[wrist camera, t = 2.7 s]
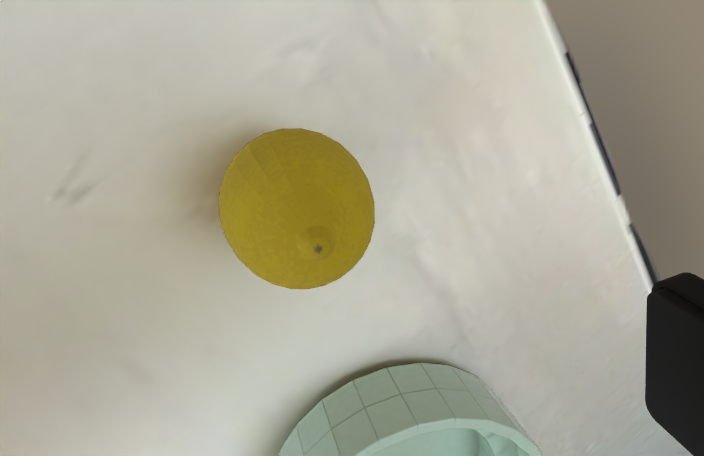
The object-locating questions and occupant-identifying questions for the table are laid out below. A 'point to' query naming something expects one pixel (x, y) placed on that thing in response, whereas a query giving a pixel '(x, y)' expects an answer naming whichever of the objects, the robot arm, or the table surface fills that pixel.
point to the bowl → (411, 418)
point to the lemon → (296, 208)
